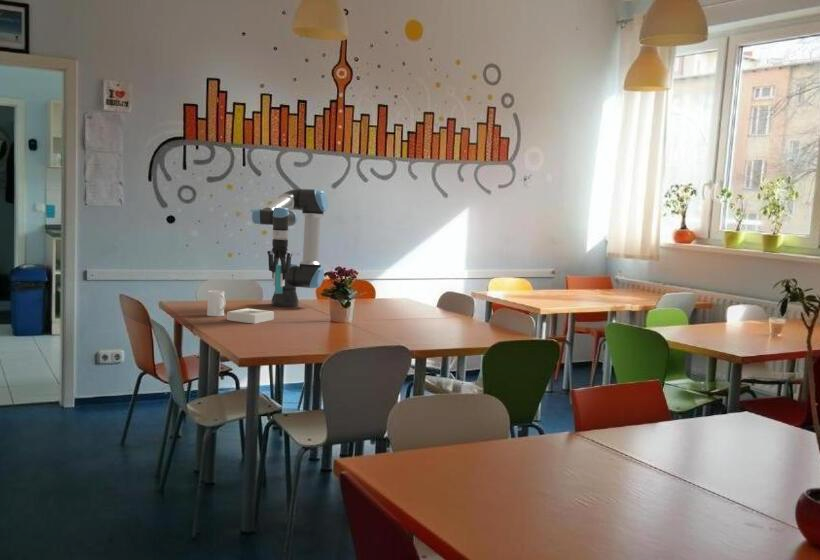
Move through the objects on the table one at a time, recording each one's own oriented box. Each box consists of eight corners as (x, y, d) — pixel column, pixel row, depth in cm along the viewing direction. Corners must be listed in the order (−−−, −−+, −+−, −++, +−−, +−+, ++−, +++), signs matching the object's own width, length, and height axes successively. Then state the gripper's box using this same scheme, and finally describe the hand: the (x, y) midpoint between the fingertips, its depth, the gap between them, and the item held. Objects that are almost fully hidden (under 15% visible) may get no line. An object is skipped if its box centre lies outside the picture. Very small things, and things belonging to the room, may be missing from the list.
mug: (231, 316, 402) (231, 292, 401) (215, 317, 396) (216, 293, 395) (218, 313, 410) (219, 289, 409) (203, 314, 405) (204, 290, 403)
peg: (273, 293, 402) (274, 265, 401) (277, 292, 406) (278, 264, 404) (279, 293, 401) (280, 265, 399) (283, 293, 404) (284, 265, 402)
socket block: (227, 320, 391) (227, 311, 391) (246, 316, 406) (247, 308, 405) (254, 323, 385) (254, 315, 384) (273, 319, 399) (273, 311, 399)
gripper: (261, 237, 400) (260, 285, 403) (290, 240, 393) (288, 288, 396) (270, 237, 407) (269, 283, 410) (298, 239, 400) (297, 286, 403)
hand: (278, 285), depth 403 cm, fingers closed on peg, 3 cm apart
